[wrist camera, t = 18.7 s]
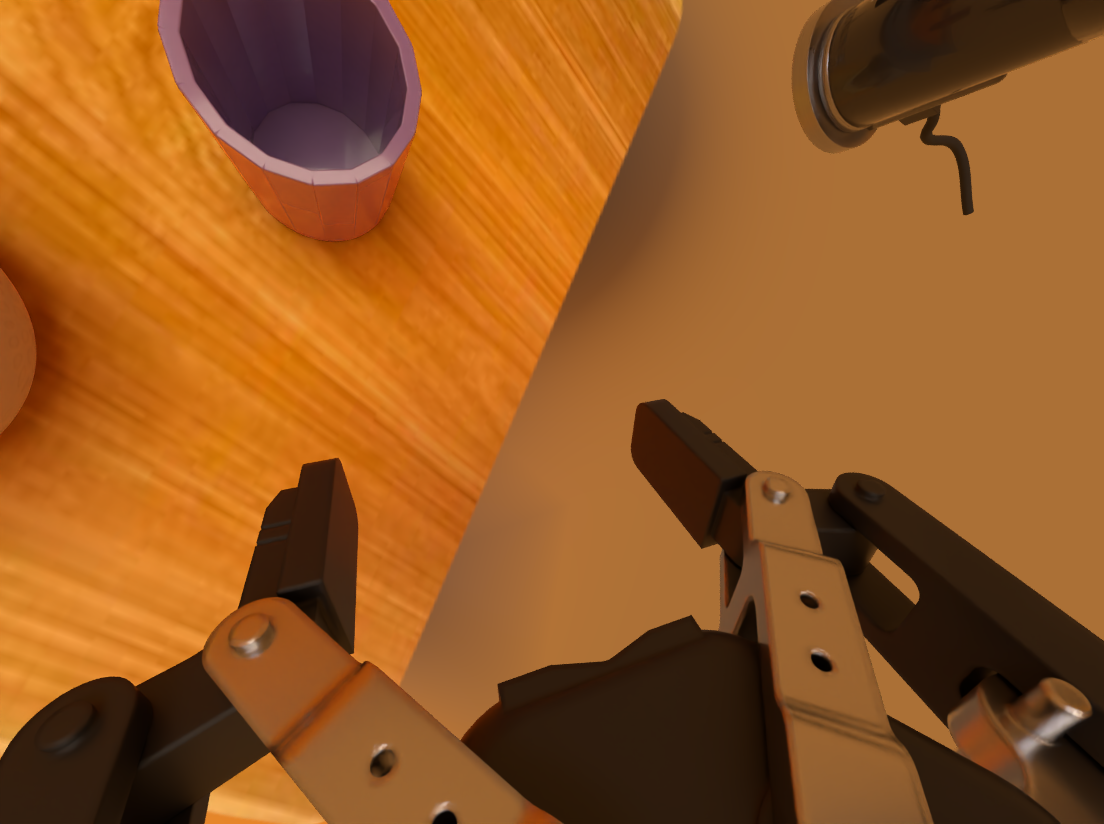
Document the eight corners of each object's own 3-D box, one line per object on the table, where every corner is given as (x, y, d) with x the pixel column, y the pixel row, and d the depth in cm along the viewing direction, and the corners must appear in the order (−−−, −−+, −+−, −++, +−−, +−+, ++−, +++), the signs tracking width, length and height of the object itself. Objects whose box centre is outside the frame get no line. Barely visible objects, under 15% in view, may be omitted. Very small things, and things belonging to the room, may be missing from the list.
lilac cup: (400, 132, 22) (436, 5, 13) (380, 257, 23) (402, 215, 14) (253, 72, 19) (173, -142, 11) (234, 216, 20) (145, 131, 11)
